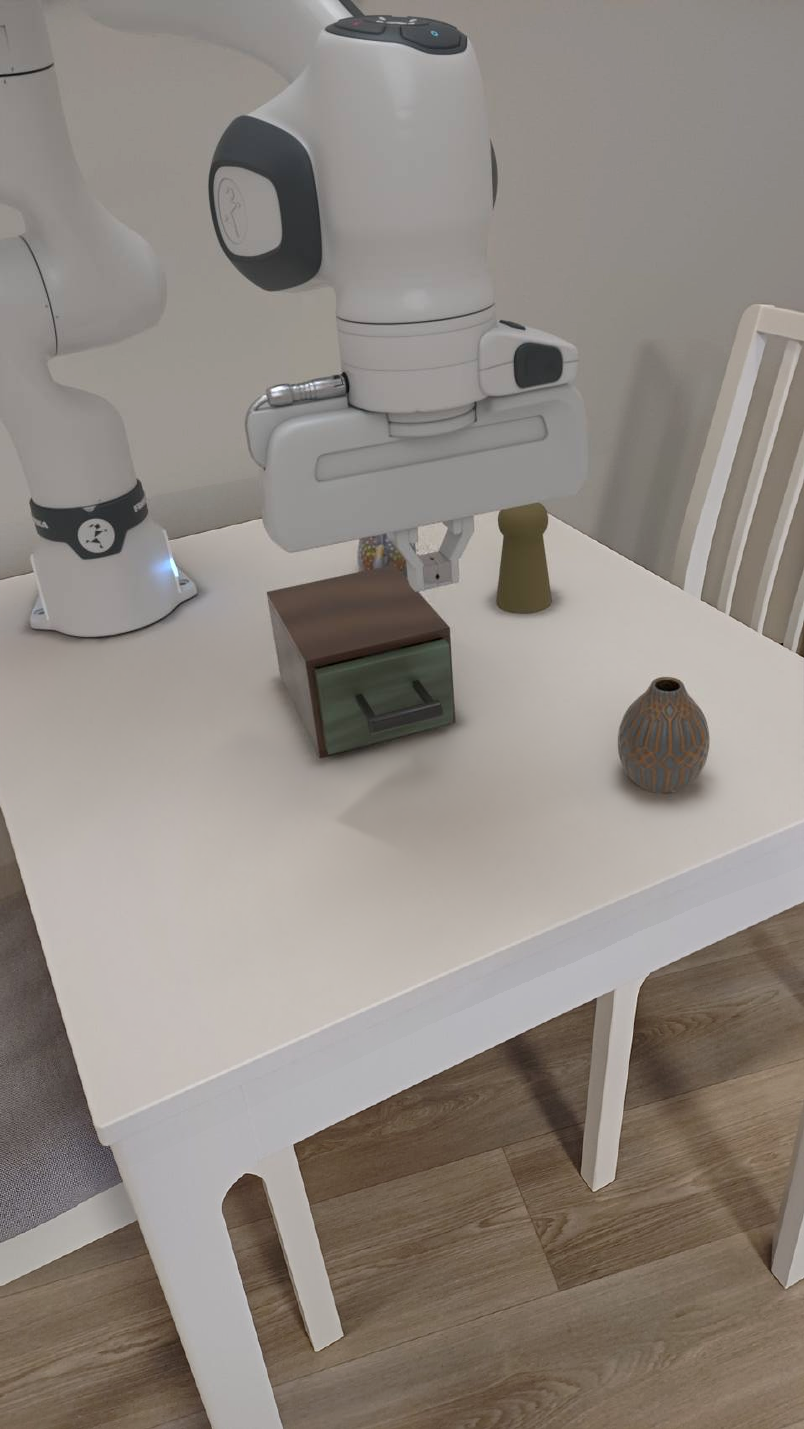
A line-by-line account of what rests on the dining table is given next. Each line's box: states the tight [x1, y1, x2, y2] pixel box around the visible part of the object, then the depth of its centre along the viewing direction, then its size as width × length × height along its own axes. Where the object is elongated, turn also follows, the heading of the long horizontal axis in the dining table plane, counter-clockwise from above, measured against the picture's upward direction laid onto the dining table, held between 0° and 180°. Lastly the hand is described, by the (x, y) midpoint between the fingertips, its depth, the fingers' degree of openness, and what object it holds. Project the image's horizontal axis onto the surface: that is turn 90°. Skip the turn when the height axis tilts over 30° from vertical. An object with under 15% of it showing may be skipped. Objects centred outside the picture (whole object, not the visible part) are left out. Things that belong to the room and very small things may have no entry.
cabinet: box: [266, 565, 456, 759], centre depth 90 cm, size 15×13×10 cm
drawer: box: [314, 639, 454, 755], centre depth 87 cm, size 19×11×8 cm, turn 19°
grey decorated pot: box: [356, 533, 417, 578], centre depth 113 cm, size 12×7×7 cm, turn 171°
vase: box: [617, 676, 711, 794], centre depth 77 cm, size 7×7×9 cm
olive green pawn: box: [495, 502, 553, 614], centre depth 105 cm, size 6×6×11 cm
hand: (433, 584), depth 64 cm, fingers closed
